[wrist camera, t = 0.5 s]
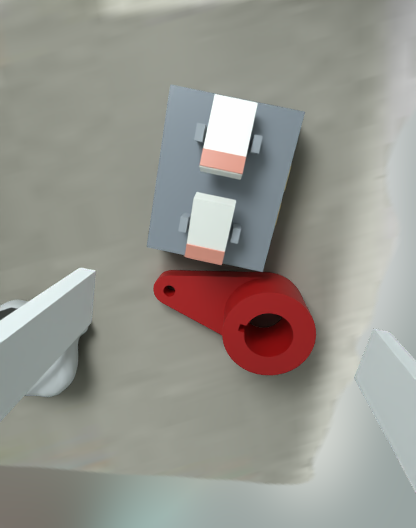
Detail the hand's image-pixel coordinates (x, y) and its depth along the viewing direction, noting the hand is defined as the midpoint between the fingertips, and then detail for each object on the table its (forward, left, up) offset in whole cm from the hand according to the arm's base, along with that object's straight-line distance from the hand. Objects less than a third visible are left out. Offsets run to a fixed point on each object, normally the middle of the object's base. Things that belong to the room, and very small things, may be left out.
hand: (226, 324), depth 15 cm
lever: (+8, +1, -23) cm, 24 cm away
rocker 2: (-1, -2, -16) cm, 16 cm away
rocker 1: (-9, -2, -16) cm, 18 cm away
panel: (-5, -2, -23) cm, 23 cm away
